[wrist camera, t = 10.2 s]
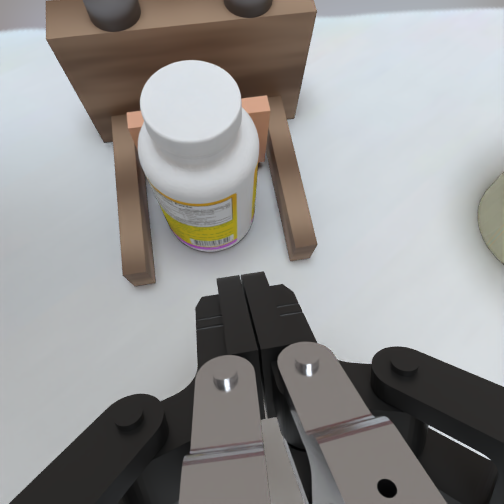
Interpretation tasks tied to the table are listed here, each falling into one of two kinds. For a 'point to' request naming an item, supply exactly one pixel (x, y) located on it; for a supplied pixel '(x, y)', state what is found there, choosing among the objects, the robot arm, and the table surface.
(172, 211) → the supplement bottle
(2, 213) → the table surface
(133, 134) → the plate
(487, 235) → the reusable coffee cup
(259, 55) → the cradle
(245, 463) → the robot arm
